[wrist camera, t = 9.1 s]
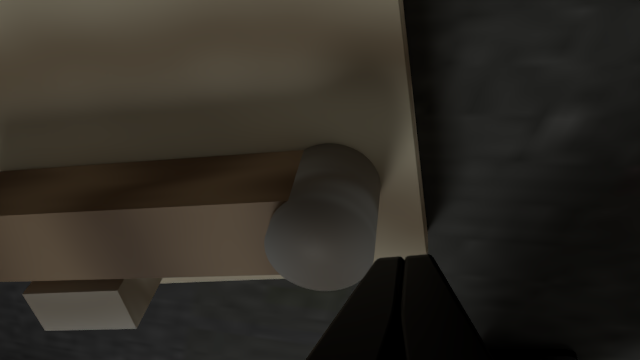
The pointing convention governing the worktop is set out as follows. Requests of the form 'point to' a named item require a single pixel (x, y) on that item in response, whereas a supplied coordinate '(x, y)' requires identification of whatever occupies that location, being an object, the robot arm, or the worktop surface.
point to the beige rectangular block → (205, 106)
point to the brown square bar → (195, 218)
